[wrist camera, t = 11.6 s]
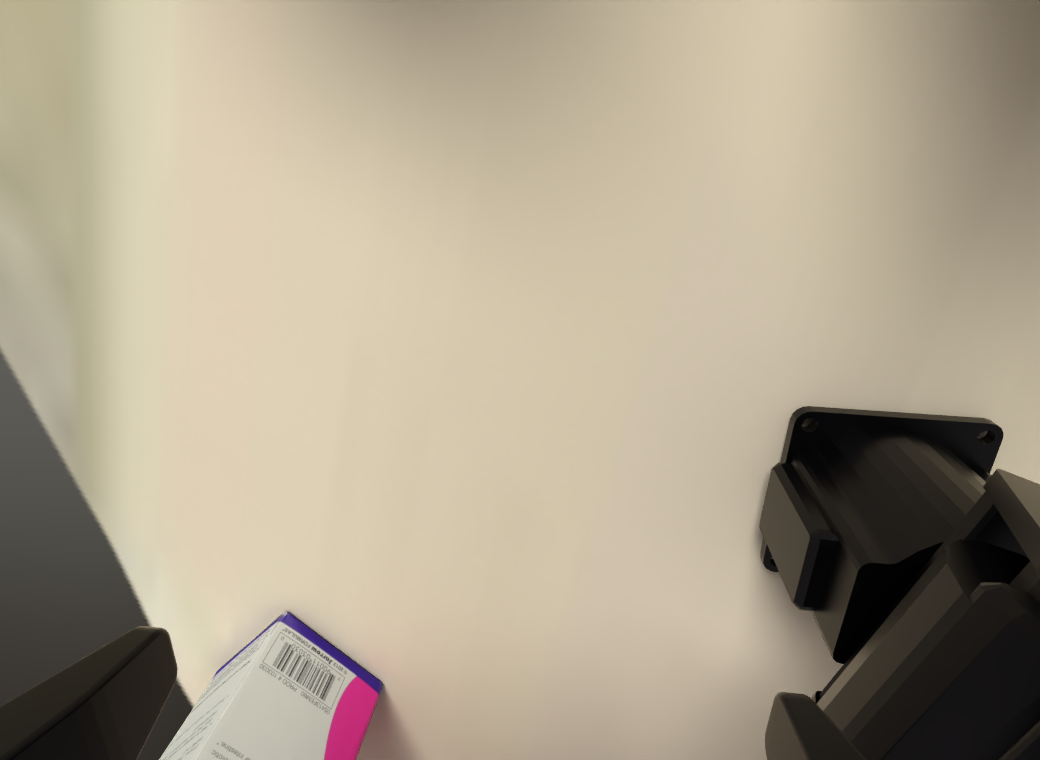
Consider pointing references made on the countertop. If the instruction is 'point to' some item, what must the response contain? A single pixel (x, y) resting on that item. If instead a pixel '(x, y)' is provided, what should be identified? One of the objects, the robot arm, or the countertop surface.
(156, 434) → the countertop surface
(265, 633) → the supplement box
